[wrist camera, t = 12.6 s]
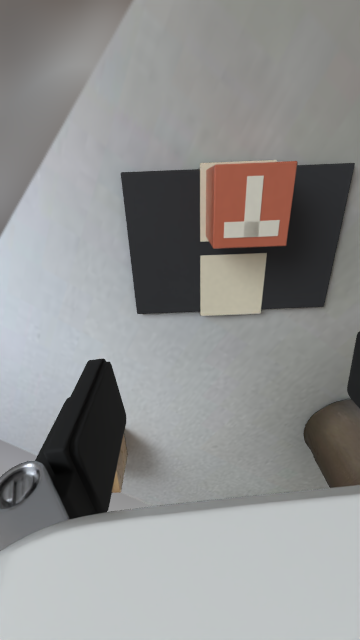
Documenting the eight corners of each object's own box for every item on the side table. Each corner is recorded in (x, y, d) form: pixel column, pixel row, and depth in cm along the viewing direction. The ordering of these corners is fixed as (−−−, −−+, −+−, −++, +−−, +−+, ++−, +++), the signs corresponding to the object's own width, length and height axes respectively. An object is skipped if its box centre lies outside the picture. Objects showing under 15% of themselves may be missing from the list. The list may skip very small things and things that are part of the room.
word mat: (138, 315, 27) (137, 318, 26) (121, 167, 21) (119, 166, 20) (320, 308, 27) (323, 311, 26) (352, 157, 21) (357, 156, 20)
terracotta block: (206, 169, 21) (214, 164, 16) (271, 166, 21) (298, 160, 16) (205, 237, 23) (213, 249, 18) (264, 234, 23) (286, 246, 18)
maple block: (89, 455, 36) (77, 494, 31) (82, 428, 33) (67, 466, 29) (127, 454, 36) (120, 493, 31) (122, 426, 33) (114, 464, 29)
